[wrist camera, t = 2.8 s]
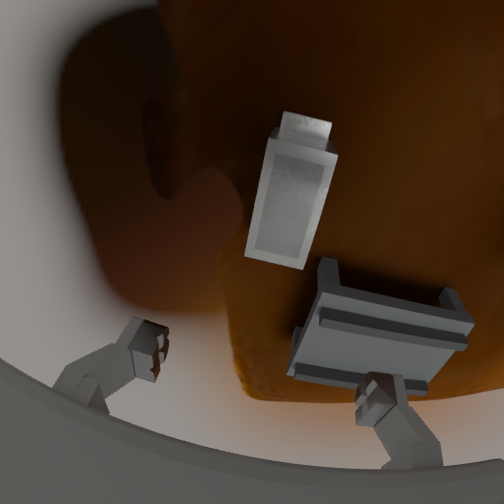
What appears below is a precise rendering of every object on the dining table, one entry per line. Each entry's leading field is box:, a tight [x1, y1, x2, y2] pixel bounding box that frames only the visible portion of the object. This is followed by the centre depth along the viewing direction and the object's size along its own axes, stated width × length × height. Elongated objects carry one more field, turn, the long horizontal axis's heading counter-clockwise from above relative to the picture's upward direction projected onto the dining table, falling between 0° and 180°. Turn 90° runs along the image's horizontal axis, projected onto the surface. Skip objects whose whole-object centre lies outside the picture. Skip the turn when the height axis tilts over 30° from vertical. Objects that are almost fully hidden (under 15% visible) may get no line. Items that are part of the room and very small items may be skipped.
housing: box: [244, 110, 338, 270], centre depth 26 cm, size 13×5×5 cm, turn 170°
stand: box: [287, 256, 475, 396], centre depth 31 cm, size 12×17×8 cm
